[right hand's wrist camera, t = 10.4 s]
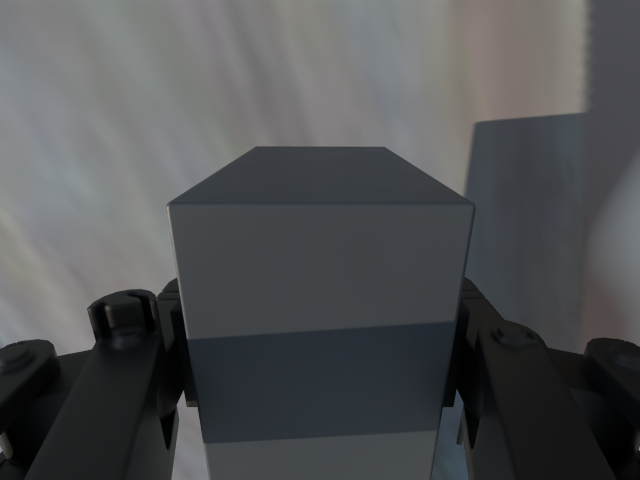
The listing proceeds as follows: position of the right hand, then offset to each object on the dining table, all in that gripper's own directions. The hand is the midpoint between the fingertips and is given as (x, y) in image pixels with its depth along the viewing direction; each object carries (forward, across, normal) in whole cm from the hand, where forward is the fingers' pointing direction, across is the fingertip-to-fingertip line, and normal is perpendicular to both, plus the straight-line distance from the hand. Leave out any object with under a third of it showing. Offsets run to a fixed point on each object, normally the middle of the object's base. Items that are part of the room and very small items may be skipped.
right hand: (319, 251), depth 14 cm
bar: (+1, 0, -26) cm, 26 cm away
